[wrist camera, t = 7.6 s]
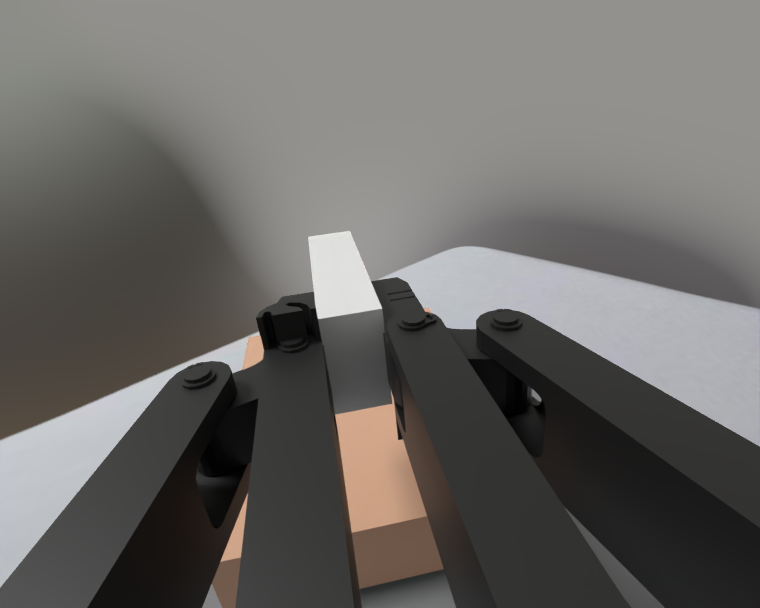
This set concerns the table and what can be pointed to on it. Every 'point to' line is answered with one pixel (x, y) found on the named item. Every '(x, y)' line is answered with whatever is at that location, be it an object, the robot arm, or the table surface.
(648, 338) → the table surface
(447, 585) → the mat
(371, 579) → the tile
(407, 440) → the robot arm
